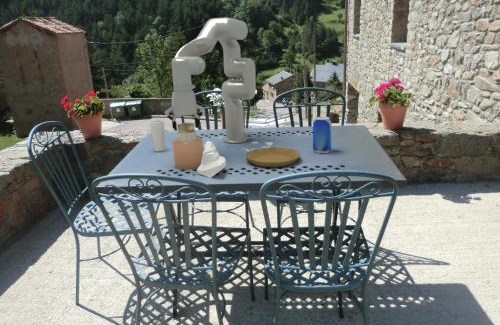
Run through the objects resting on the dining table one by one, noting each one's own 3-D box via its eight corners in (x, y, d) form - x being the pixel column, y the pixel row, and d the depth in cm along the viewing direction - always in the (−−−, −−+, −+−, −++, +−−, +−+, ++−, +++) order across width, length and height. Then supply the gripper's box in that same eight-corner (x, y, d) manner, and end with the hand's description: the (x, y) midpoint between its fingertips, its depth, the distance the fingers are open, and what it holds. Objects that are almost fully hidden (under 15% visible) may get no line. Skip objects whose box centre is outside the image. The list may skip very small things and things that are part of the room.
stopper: (193, 136, 189) (192, 122, 187) (197, 139, 183) (195, 125, 181) (177, 138, 186) (176, 123, 185) (180, 141, 180) (179, 126, 178)
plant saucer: (286, 151, 204) (285, 144, 203) (309, 164, 182) (309, 157, 181) (238, 157, 196) (238, 150, 195) (257, 172, 174) (257, 165, 173)
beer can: (332, 149, 201) (333, 116, 196) (328, 154, 194) (328, 120, 189) (315, 148, 205) (315, 115, 200) (310, 153, 197) (310, 119, 193)
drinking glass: (163, 152, 208) (160, 122, 204) (150, 152, 210) (147, 122, 205) (168, 148, 215) (165, 119, 210) (156, 148, 216) (153, 119, 212)
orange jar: (199, 158, 196) (197, 126, 191) (207, 166, 184) (205, 132, 180) (171, 162, 192) (168, 130, 187) (177, 170, 180) (174, 136, 175)
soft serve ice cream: (194, 182, 170) (184, 148, 168) (206, 173, 184) (196, 141, 182) (223, 175, 167) (213, 140, 165) (232, 166, 181) (223, 134, 179)
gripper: (200, 86, 184) (203, 125, 189) (160, 89, 179) (164, 129, 184) (205, 87, 178) (208, 128, 183) (163, 91, 172) (167, 133, 177)
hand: (186, 128), depth 183 cm, fingers open, 9 cm apart
